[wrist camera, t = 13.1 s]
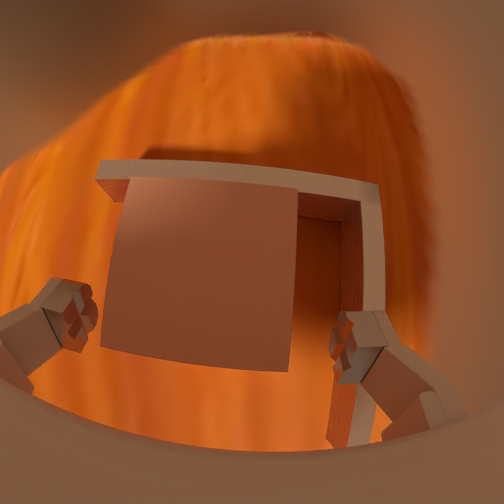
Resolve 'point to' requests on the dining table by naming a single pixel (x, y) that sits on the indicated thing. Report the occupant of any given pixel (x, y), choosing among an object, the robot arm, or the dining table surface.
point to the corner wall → (309, 206)
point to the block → (203, 273)
